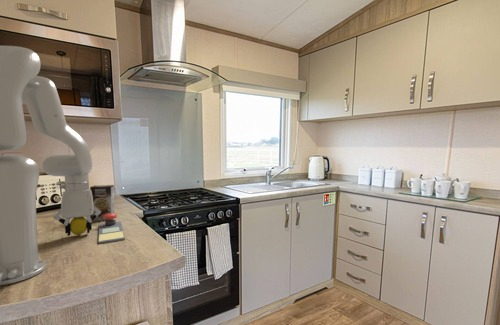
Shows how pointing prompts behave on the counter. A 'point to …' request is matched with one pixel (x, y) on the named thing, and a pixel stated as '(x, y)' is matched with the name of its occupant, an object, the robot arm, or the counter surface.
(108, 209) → the coffee box
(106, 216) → the button
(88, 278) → the counter surface
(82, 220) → the lemon
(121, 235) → the board
